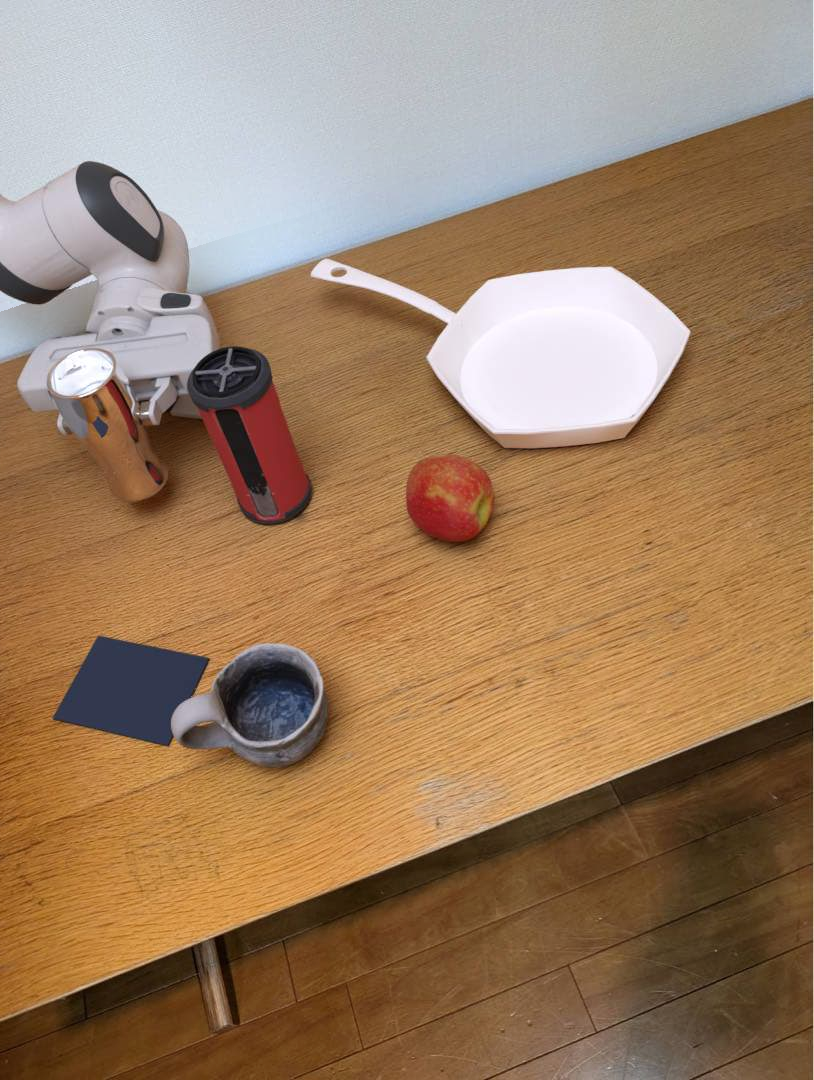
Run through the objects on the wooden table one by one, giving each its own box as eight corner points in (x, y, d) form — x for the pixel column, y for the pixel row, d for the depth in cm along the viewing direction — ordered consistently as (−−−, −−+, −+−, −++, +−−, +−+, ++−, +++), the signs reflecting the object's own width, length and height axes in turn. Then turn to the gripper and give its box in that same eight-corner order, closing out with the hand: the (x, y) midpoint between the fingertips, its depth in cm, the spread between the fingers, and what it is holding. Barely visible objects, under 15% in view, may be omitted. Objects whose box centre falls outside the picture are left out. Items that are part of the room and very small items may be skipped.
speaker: (235, 529, 101) (176, 402, 87) (246, 472, 105) (191, 343, 91) (309, 524, 100) (261, 395, 86) (316, 467, 104) (272, 336, 90)
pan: (610, 501, 95) (610, 454, 90) (262, 382, 114) (246, 338, 109) (717, 324, 108) (722, 274, 103) (388, 242, 126) (379, 197, 121)
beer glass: (118, 453, 104) (58, 346, 92) (180, 454, 103) (128, 344, 91) (97, 505, 100) (32, 399, 88) (162, 506, 99) (104, 399, 87)
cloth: (53, 719, 90) (52, 718, 90) (99, 637, 95) (98, 635, 95) (168, 746, 87) (167, 745, 86) (209, 659, 92) (208, 657, 91)
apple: (468, 568, 93) (459, 515, 87) (395, 537, 97) (381, 484, 91) (509, 508, 97) (503, 453, 91) (437, 481, 100) (426, 426, 94)
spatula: (96, 406, 116) (90, 394, 114) (109, 387, 117) (102, 375, 116) (218, 421, 111) (213, 408, 109) (229, 401, 113) (224, 388, 111)
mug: (362, 736, 84) (337, 678, 76) (239, 829, 81) (200, 778, 73) (301, 663, 90) (272, 601, 82) (184, 747, 86) (142, 691, 78)
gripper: (24, 318, 102) (-10, 414, 93) (216, 293, 99) (198, 389, 91) (51, 364, 107) (20, 459, 98) (235, 341, 104) (219, 437, 96)
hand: (108, 425), depth 94 cm, fingers closed on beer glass, 7 cm apart
